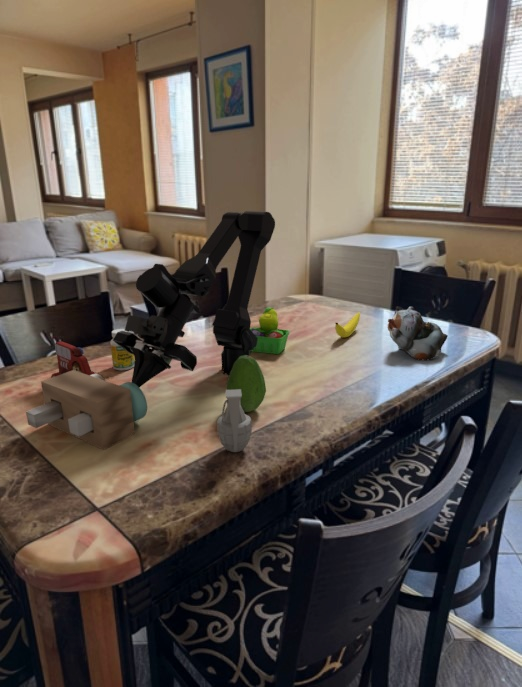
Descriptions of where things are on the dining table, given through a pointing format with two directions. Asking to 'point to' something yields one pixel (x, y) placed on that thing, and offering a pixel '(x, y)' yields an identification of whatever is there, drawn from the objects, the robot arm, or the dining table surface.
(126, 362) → the supplement bottle
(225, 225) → the robot arm
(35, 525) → the dining table surface
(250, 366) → the avocado
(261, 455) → the dining table surface
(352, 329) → the banana
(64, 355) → the toy fire truck
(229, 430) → the hand grenade
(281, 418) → the dining table surface
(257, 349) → the fruit basket
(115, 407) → the walnut mount
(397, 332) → the lucky cat figurine
